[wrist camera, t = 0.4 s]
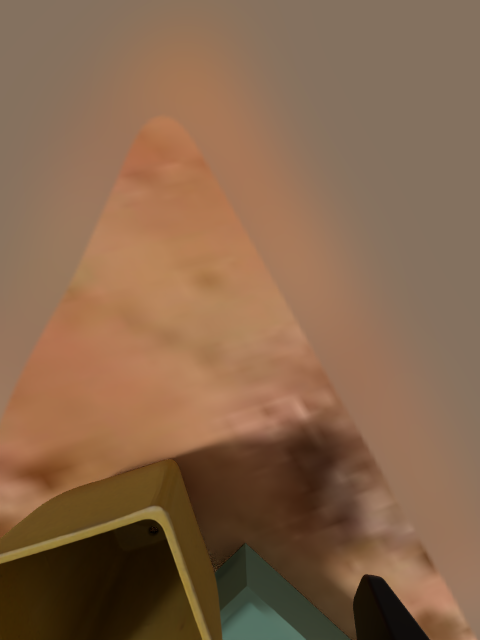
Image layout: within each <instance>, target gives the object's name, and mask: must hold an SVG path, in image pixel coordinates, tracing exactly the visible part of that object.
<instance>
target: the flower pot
mask: <svg viewBox="0 0 480 640" xmlns="http://www.w3.org/2000/svg"><path fill="white" fill-rule="evenodd" d="M152 526H155V527H157V529H158V531H157V532H156V533H151V532H150V530H149V528H150V527H152ZM0 640H223V639H222V628H221V618H220V607H219V597H218V589H217V583H216V578H215V574H214V570H213V567H212V563H211V560H210V557H209V554H208V551H207V549H206V546H205V543H204V540H203V538H202V535H201V532H200V529H199V526H198V523H197V520H196V517H195V514H194V512H193V509H192V506H191V503H190V500H189V496H188V493H187V490H186V487H185V484H184V481H183V478H182V475H181V471H180V469H179V466H178V464H177V463H176V462H175V461H174V460H171V459H167V460H163V461H160V462H157V463H154V464H151V465H147V466H144V467H141V468H138V469H135V470H132V471H129V472H126V473H122V474H119V475H116V476H113V477H109V478H106V479H103V480H100V481H96V482H93V483H89V484H86V485H83V486H79V487H77V488H74V489H71V490H69V491H66V492H64V493H62V494H60V495H58V496H56V497H54V498H52V499H50V500H49V501H47V502H45V503H44V504H42V505H41V506H40V507H38V508H37V509H36V510H34V511H33V512H32V513H31V514H29V515H28V516H27V517H26V518H25V519H23V520H22V521H21V522H20V523H18V524H17V525H16V526H15V527H14V528H12V529H11V530H10V531H9V532H8V533H6V534H5V535H4V536H3V537H2V538H0Z"/></svg>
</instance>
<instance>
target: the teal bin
mask: <svg viewBox="0 0 480 640" xmlns="http://www.w3.org/2000/svg"><path fill="white" fill-rule="evenodd" d="M214 574H215V578H216V583H217V589H218V597H219V607H220V618H221V628H222V639H223V640H351V639H350V638H349V637H347V636H346V635H345V634H344V633H343V632H342V631H341V630H340V629H339V628H338V627H337V626H335V625H334V624H333V623H332V622H331V621H330V620H329V619H328V618H327V617H326V616H325V615H323V614H322V613H321V612H320V611H319V610H318V609H317V608H316V607H315V606H314V605H313V604H311V603H310V602H309V601H308V600H307V599H306V598H305V597H304V596H303V595H302V594H301V593H299V592H298V591H297V590H296V589H295V588H294V587H293V586H292V585H291V584H290V583H288V582H287V581H286V580H285V579H284V578H283V577H282V576H281V575H280V574H279V573H278V572H276V571H275V570H274V569H273V568H272V567H271V566H270V565H269V564H268V563H267V562H266V561H264V560H263V559H262V558H261V557H260V556H259V555H258V554H257V553H256V552H255V551H254V550H252V549H251V548H250V547H249V546H248V545H247V544H246V543H245V544H244V545H243V546H242V547H241V548H240V549H239V550H238V551H237V552H236V553H235V554H234V555H233V556H232V557H230V558H229V559H228V560H227V561H226V562H225V563H224V564H223V565H222V566H221V567H220V568H219V569H218V570H217V571H216V572H215V573H214Z"/></svg>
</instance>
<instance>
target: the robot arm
mask: <svg viewBox="0 0 480 640" xmlns="http://www.w3.org/2000/svg"><path fill="white" fill-rule="evenodd" d="M353 611H354V619H355V627H356V635H357V640H430V639H429V638H428V636H427V635H426V634H425V632H424V631H423V630H422V629H421V627H420V626H419V625H418V623H417V622H416V621H415V619H414V618H413V617H412V615H411V614H410V613H409V612H408V610H407V609H406V608H405V606H404V605H403V604H402V602H401V601H400V600H399V598H398V597H397V596H396V595H395V593H394V592H393V591H392V589H391V588H390V587H389V585H388V584H387V583H386V581H385V580H384V579H383V578H381V577H379V576H374V575H368V574H365V575H364V576H363V577H362V579H361V581H360V584H359V586H358V589H357V591H356V594H355V597H354V601H353Z"/></svg>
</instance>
